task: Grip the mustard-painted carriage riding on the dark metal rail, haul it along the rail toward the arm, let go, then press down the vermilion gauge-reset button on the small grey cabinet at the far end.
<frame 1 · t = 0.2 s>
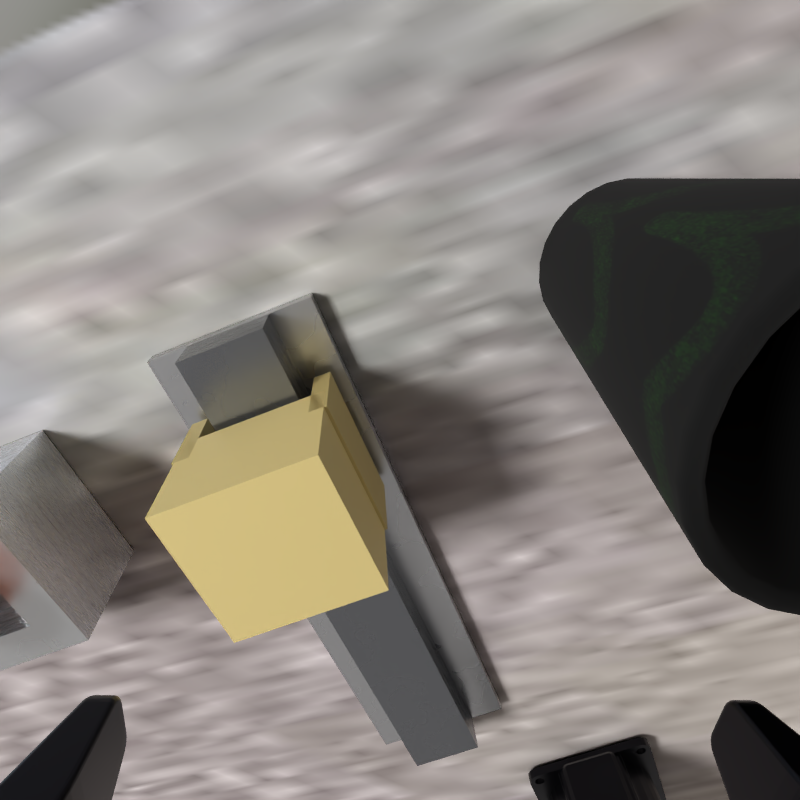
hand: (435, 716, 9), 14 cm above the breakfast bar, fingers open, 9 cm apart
carriage: (283, 499, 19), point 4 cm above the breakfast bar, slide at 6.0 cm
cup: (617, 264, 20), on the breakfast bar
rail: (356, 558, 25), on the breakfast bar
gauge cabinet: (22, 519, 23), on the breakfast bar
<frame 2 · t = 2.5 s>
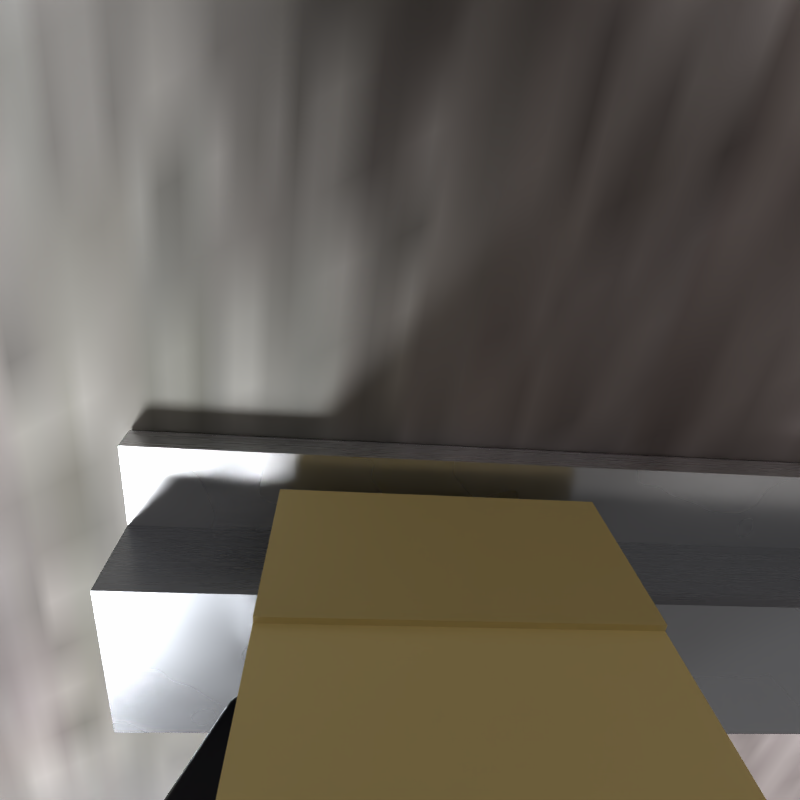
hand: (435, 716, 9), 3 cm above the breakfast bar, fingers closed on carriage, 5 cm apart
carriage: (441, 769, 8), point 4 cm above the breakfast bar, slide at 6.0 cm, touching gripper
rail: (714, 590, 12), on the breakfast bar
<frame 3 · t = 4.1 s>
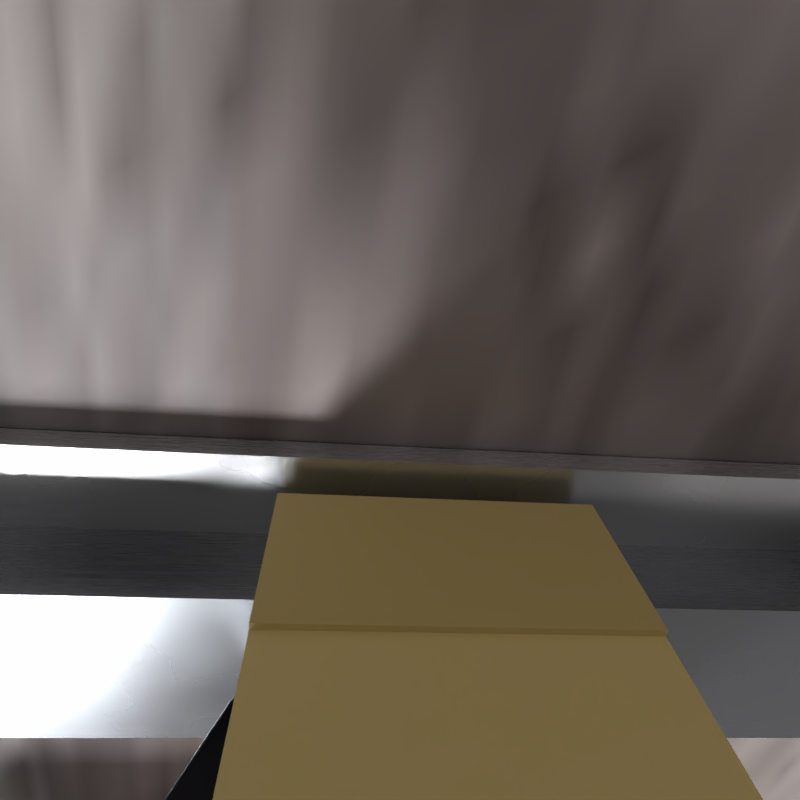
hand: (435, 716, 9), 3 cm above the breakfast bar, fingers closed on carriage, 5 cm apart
carriage: (440, 776, 8), point 4 cm above the breakfast bar, slide at -0.9 cm, touching gripper
rail: (372, 584, 11), on the breakfast bar
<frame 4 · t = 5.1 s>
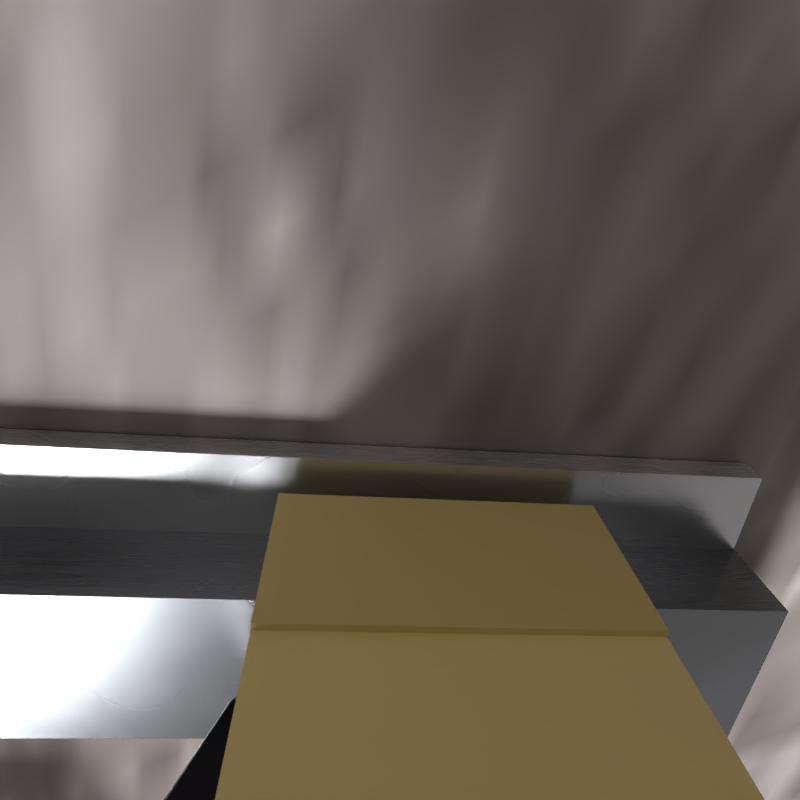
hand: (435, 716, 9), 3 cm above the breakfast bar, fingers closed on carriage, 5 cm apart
carriage: (441, 776, 8), point 4 cm above the breakfast bar, slide at -5.5 cm, touching gripper
rail: (117, 578, 11), on the breakfast bar
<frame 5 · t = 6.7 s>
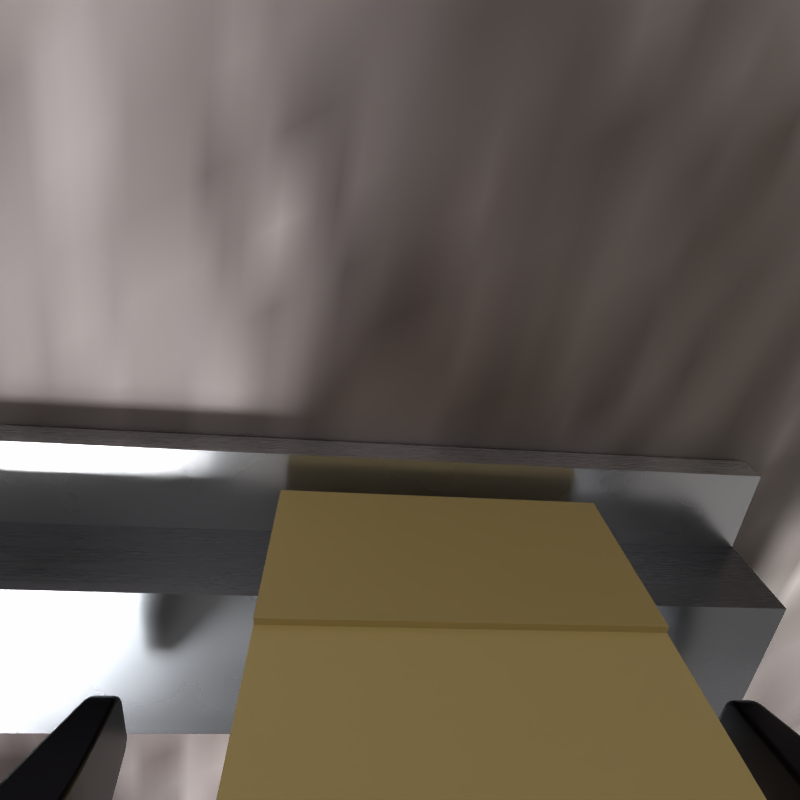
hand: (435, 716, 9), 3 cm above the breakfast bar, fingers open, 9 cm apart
carriage: (442, 771, 8), point 4 cm above the breakfast bar, slide at -5.5 cm
rail: (119, 575, 11), on the breakfast bar
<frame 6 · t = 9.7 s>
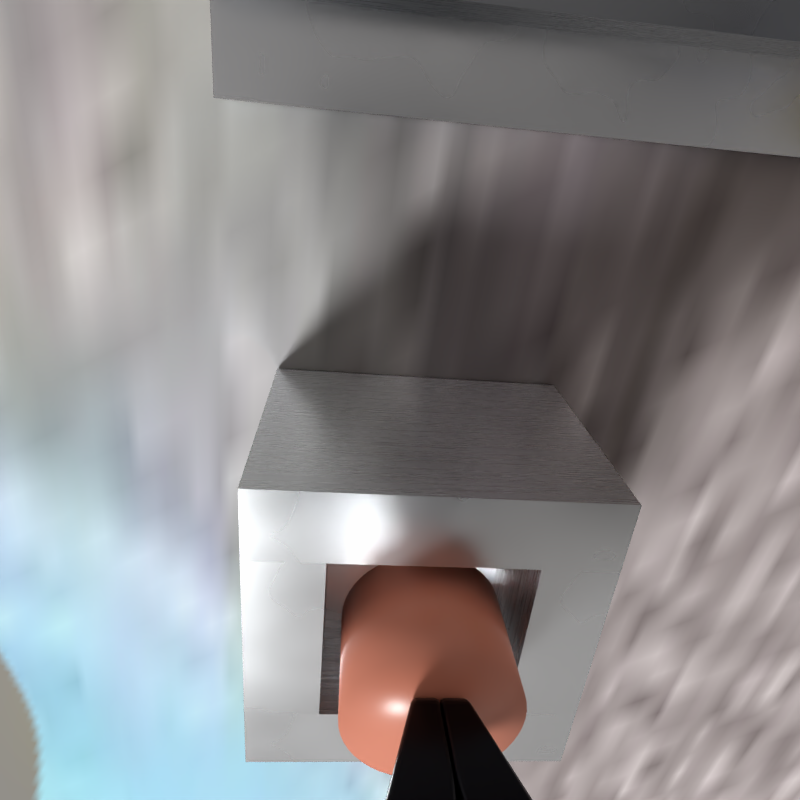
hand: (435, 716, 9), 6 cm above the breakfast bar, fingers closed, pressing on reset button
reset button: (426, 662, 10), point 5 cm above the breakfast bar, slide at -0.8 cm, touching gripper
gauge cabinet: (405, 493, 14), on the breakfast bar
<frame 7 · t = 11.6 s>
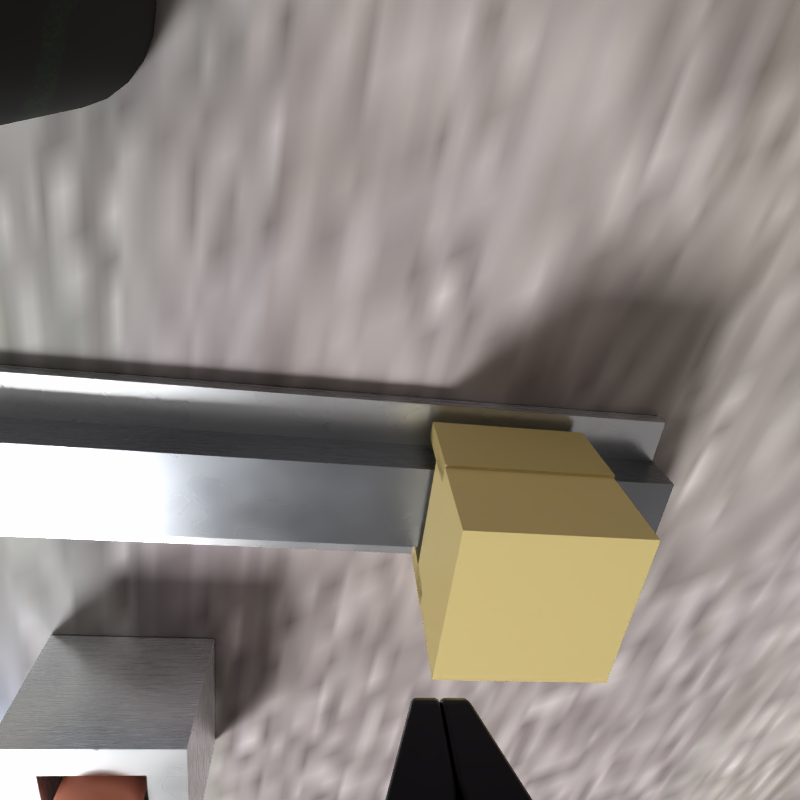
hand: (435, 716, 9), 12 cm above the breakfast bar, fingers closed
carriage: (514, 545, 18), point 4 cm above the breakfast bar, slide at -5.5 cm
reset button: (100, 796, 20), point 4 cm above the breakfast bar, slide at -1.5 cm
rail: (332, 470, 20), on the breakfast bar
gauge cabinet: (138, 691, 24), on the breakfast bar
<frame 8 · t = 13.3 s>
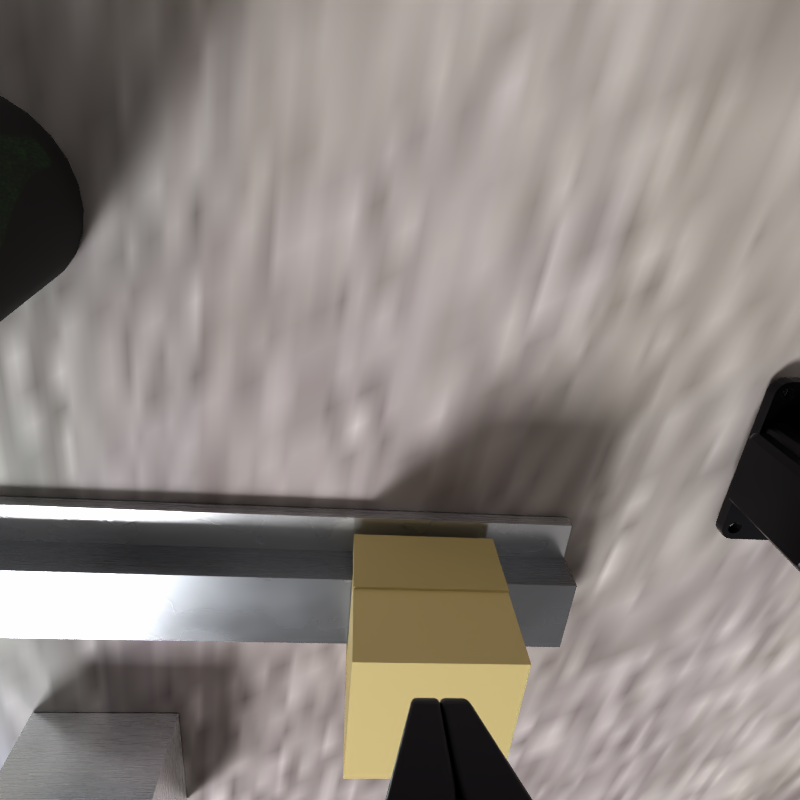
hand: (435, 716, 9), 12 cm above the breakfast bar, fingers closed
carriage: (423, 650, 20), point 4 cm above the breakfast bar, slide at -5.5 cm
rail: (272, 571, 23), on the breakfast bar
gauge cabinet: (114, 758, 27), on the breakfast bar
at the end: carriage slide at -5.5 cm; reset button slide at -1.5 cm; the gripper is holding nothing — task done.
